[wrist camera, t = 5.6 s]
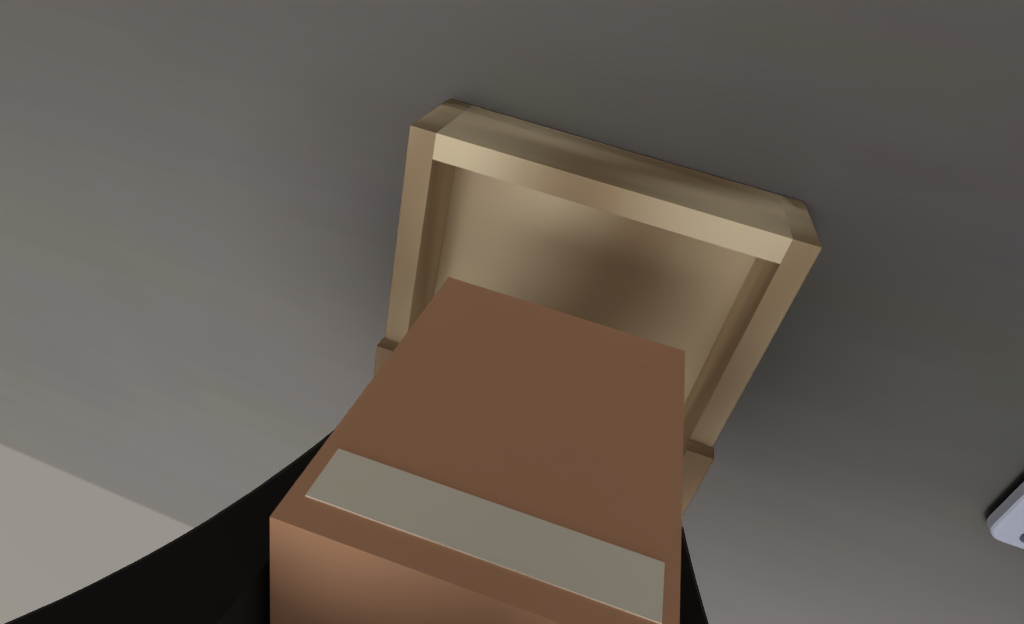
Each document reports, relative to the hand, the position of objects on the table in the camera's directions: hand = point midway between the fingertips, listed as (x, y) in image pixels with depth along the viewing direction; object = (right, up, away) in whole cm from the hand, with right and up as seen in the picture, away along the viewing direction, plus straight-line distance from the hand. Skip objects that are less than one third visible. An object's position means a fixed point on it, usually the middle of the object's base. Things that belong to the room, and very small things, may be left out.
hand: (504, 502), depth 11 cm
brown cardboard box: (+1, +1, +2) cm, 2 cm away
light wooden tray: (+1, +2, +8) cm, 8 cm away
